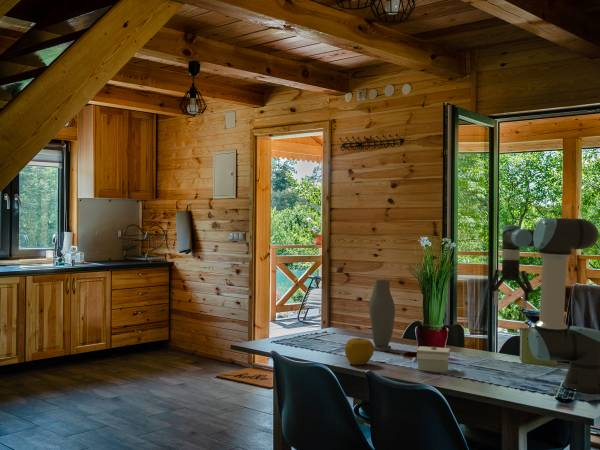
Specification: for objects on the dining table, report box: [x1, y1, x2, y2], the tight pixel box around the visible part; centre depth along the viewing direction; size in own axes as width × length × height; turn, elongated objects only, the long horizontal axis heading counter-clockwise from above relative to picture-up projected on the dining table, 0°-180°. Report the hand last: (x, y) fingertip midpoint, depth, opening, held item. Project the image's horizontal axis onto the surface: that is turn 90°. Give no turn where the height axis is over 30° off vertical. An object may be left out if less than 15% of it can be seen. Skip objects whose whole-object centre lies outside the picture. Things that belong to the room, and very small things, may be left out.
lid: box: [416, 345, 451, 362], centre depth 273 cm, size 13×10×4 cm
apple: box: [344, 337, 375, 366], centre depth 281 cm, size 13×13×11 cm
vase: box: [368, 279, 396, 352], centre depth 323 cm, size 13×13×35 cm
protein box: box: [519, 326, 558, 366], centre depth 297 cm, size 10×15×16 cm
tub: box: [417, 358, 449, 373], centre depth 273 cm, size 12×8×8 cm, turn 74°
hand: (510, 306), depth 289 cm, fingers open, 13 cm apart
